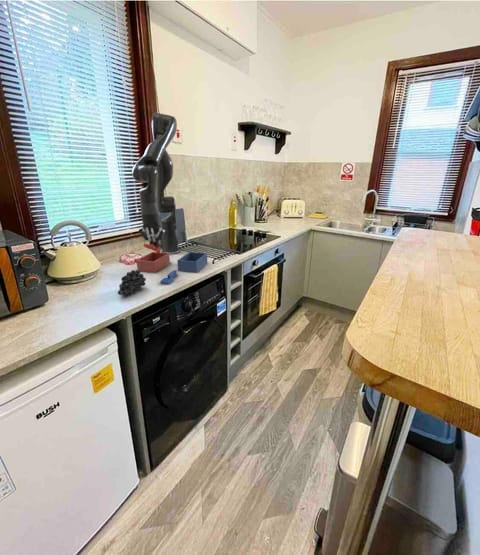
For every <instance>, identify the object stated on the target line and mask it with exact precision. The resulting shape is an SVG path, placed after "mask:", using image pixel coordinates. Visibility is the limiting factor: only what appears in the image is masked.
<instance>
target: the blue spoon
mask: <svg viewBox="0 0 480 555" xmlns="http://www.w3.org/2000/svg"><path fill="white" fill-rule="evenodd" d="M177 271H178V269H174V270H172V271H171V272H169V273H168V274H167V275H166V277H164V278H162V279H161V280H160V281H159V282H160V283H159V284H161V285H163V284H164V285H170V284H171V283H172V282H173V281H174V278H176V277H177V276H178V273H177Z"/></svg>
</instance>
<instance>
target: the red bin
mask: <svg viewBox="0 0 480 555" xmlns="http://www.w3.org/2000/svg"><path fill="white" fill-rule="evenodd" d="M135 262H136V270H140V272H147V273H157V272H158V271H160V270H162V269H163V268H165V267H166V266H168V265H169V264H170V263H171V258H170V254H169V253H162V252H160V253H158V252H156V251H152V252H149V253H148V254H145V255H144V256H141V257H140V258H138V259H136V260H135Z"/></svg>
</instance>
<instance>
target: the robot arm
mask: <svg viewBox="0 0 480 555" xmlns="http://www.w3.org/2000/svg"><path fill="white" fill-rule="evenodd" d="M151 131H152V140H153V141H152V142H150V143H149V144H148V146H147V147H146V148H145V151H144V154H143V155H142V156H141V158H140V159H139V160H137V162H136V163H135V164H134V165H133V167H132V171H131V173H132V178H133V180H135V182H137V183H147V185H146V187H142V188H140V189H139V190H138V192H139V195H138V196H139V201H140V213H141V222H142V227H141V228H138V232H139V233H140V234H141V236H142V238H143V239H144V240H145V241H148V244H153V245H154V246H155V247H156V249H157V248H158V246H159V247H161V253H169V255H174V254H178V253H180V244H179V236H178V234H179V233H178V225H177V224H178V223H177V222H178V221H177V203H176V199H175V197H174V196H172V195H171V196H169V195H168V196H164V192H165V190H166V188H167V186H168V185H169V184H170V182H171V181H172V179H173V177H174V162H173V160H172V158H171V155H170V154H169V152H168V150H167V148H168V146H169V145H170V143H171V142H172V141H173V139H174V137H176V136H175V135H176V133H177V131H178V122H177V119H176V117H175V116H174V115H170V114H165V113H161V112H154V113H153V114H152V117H151ZM160 214H168V215H167V216H166V217H163V218H162V219H160ZM159 241H160V244H159V243H158V242H159ZM156 249H155V250H156Z"/></svg>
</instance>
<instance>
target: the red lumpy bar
mask: <svg viewBox="0 0 480 555" xmlns="http://www.w3.org/2000/svg"><path fill="white" fill-rule="evenodd" d="M142 247H144V248H145V249H148V250H152V251H153V252H158V253H161V252H162V248H161V247H159V246H158V248H157V249H156V247H155V246H154V245H153V244H149V243H143V245H142ZM155 249H156V250H155Z"/></svg>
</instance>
